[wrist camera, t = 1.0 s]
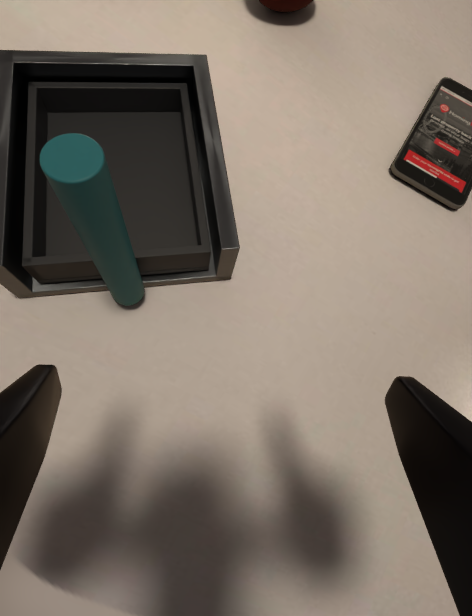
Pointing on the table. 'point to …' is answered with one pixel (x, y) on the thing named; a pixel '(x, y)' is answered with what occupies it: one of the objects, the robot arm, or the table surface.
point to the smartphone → (441, 146)
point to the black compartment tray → (112, 185)
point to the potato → (285, 4)
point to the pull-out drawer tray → (114, 69)
